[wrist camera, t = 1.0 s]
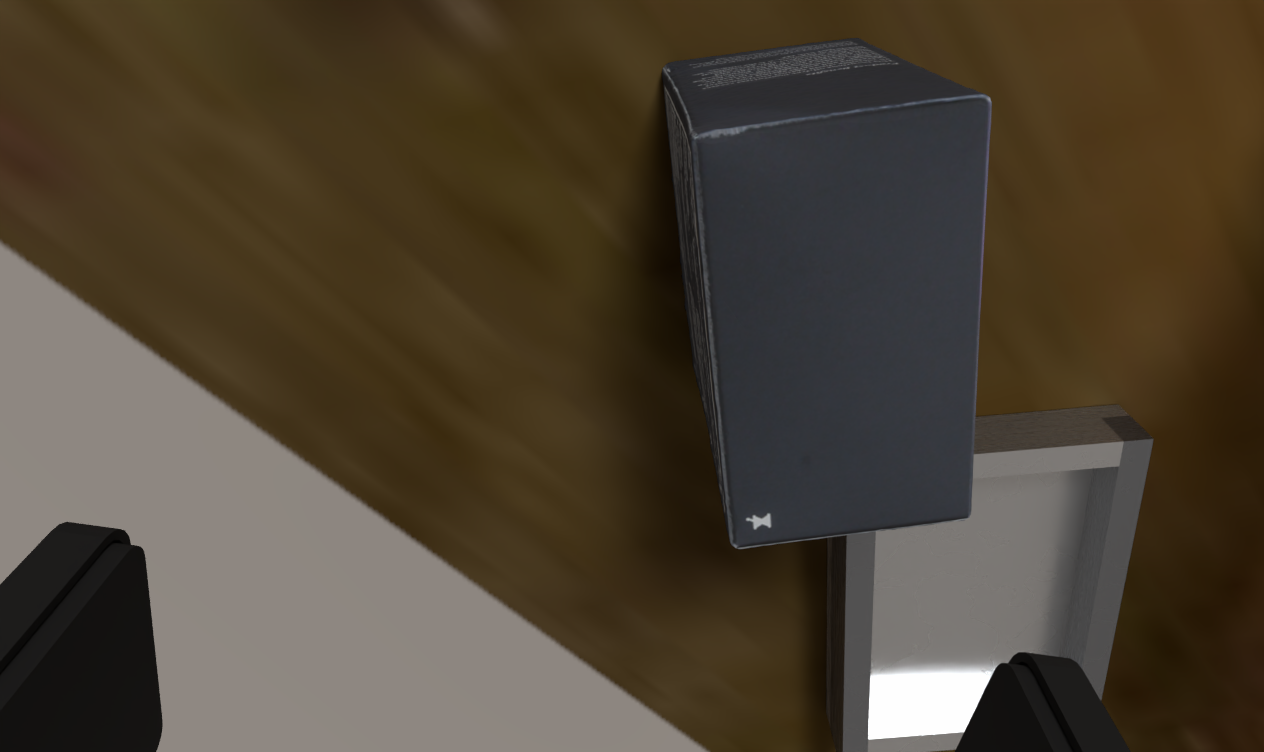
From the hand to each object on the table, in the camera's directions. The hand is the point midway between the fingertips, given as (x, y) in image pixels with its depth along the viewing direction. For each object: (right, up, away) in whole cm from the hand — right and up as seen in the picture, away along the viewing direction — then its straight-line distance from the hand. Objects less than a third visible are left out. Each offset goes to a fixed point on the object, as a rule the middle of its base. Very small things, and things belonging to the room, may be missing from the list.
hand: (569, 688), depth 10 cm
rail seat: (+14, -4, +26) cm, 30 cm away
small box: (+5, +9, +19) cm, 22 cm away
